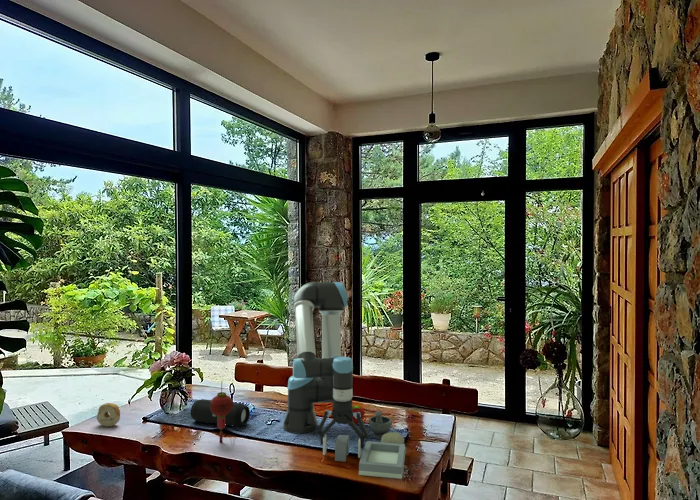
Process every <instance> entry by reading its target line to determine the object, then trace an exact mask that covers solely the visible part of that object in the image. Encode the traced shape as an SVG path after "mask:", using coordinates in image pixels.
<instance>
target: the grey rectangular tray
mask: <svg viewBox="0 0 700 500" xmlns="http://www.w3.org/2000/svg"><path fill="white" fill-rule="evenodd" d="M405 457H406V444H405V443H404V444H396V443H384V442H381V441H370V440H367V441H366V443H365V444H364V447H363V451H362V452H361V457H360V458H359V463H358V476H366V477H367V476H368V477H377V478H378V477H379V478H388V479H389V478H390V479H398V480H399V479H401V480H402V479H403V473H404V467H405V460H406V458H405Z"/></svg>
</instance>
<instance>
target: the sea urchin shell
mask: <svg viewBox="0 0 700 500" xmlns="http://www.w3.org/2000/svg"><path fill="white" fill-rule="evenodd" d="M380 442H384V443H396V444H405V439H404V437H403V435H402V434H400V433H399V432H394V431H393V432H392V431H389V432H388V433H386V434H384V435H383V436H382V438H381V439H380Z"/></svg>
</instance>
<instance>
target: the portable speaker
mask: <svg viewBox="0 0 700 500" xmlns="http://www.w3.org/2000/svg"><path fill="white" fill-rule="evenodd" d="M211 400H212V399H203V398H201V399H199V400H196V401H194V402H193V403H192V405H191V407H190V417H191V419H193V420H194V421H196V422H197V421H199V422H198V423H203V422H208V423H207V424H211V423H217V415H214V414H213V413H212V412H211V411H210V402H211ZM250 412H251V411H250V407H249V406H248V405H246V404H244V403H241V402H233V408H232V410H231V411H230V413H228V414H227V415H226V417H225V424H226V425H225V426H227V425H233V426H232V427H235V426H240V427H243V426H245V425H246V424H247V423H248V421H249V419H250V414H251V413H250Z"/></svg>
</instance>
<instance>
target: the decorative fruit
mask: <svg viewBox="0 0 700 500" xmlns="http://www.w3.org/2000/svg"><path fill="white" fill-rule="evenodd" d="M352 411H353V413H358V412H360V413H361V418H362V420H363V418H364V416H365V414H366V413H365V410H364V409H363V407H362V406H361V405H356V402H355V405H352ZM352 420H353V421H354V423H355V424H356V426H358V425H359V423H358V421H357V419H356V418H355V417H354V416H353V417H352Z"/></svg>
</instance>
